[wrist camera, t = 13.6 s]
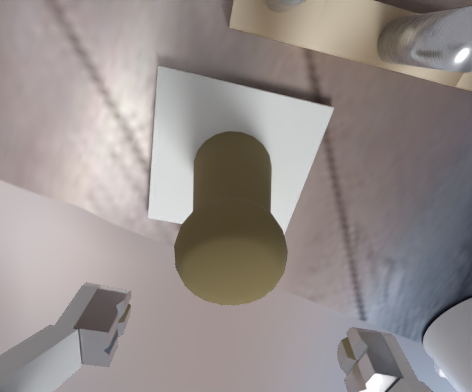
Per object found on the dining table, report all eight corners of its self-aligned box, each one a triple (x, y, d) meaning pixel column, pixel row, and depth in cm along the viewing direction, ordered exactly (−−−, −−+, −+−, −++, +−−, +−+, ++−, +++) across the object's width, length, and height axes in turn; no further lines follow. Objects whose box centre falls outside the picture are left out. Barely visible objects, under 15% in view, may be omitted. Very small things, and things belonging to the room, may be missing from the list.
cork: (180, 181, 21) (134, 297, 11) (217, 115, 18) (198, 192, 9) (245, 214, 22) (252, 339, 13) (287, 157, 20) (335, 261, 10)
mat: (331, 106, 19) (334, 108, 18) (280, 236, 24) (281, 241, 24) (160, 65, 17) (157, 66, 17) (149, 214, 23) (147, 218, 23)
